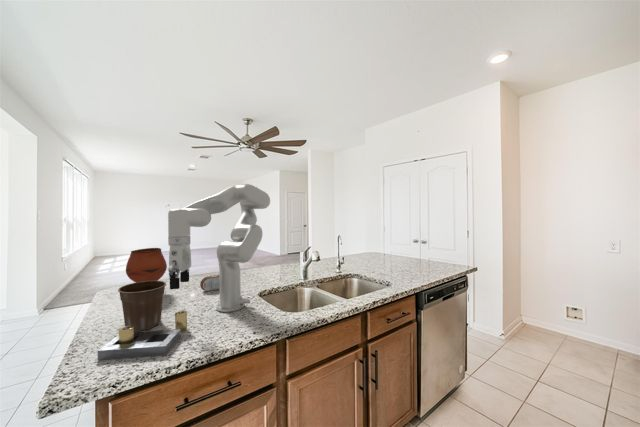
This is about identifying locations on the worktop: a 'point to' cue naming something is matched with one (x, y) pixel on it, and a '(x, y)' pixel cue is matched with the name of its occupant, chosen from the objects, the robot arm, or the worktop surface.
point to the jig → (139, 344)
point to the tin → (210, 283)
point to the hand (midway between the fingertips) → (179, 285)
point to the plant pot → (142, 304)
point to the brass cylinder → (181, 320)
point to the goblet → (146, 265)
